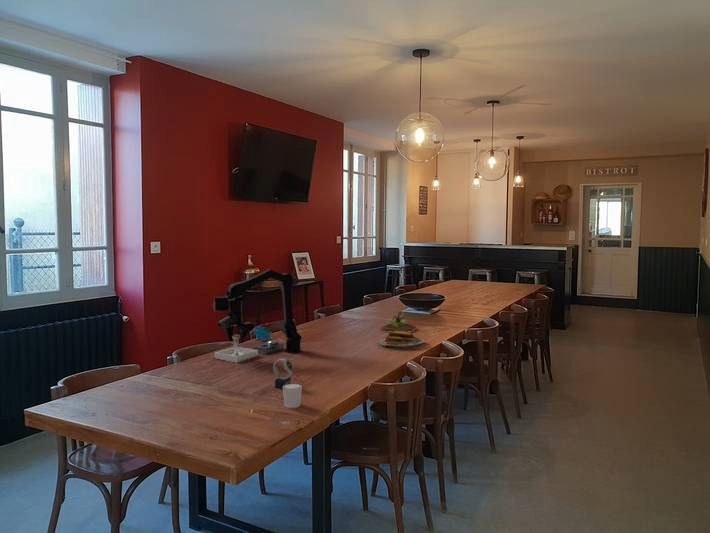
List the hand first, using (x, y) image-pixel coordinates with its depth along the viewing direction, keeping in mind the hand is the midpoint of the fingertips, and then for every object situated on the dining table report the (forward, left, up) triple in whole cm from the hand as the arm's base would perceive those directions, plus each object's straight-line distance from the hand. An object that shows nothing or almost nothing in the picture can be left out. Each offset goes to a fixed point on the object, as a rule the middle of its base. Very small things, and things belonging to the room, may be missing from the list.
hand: (236, 342), depth 260 cm
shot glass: (-65, +40, -8) cm, 77 cm away
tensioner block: (-4, -19, -8) cm, 21 cm away
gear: (+15, -36, -8) cm, 40 cm away
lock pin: (0, 0, -7) cm, 7 cm away
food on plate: (-56, -66, -8) cm, 87 cm away
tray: (0, 0, -8) cm, 8 cm away
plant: (-36, -102, -8) cm, 108 cm away
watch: (-48, +24, -8) cm, 54 cm away
